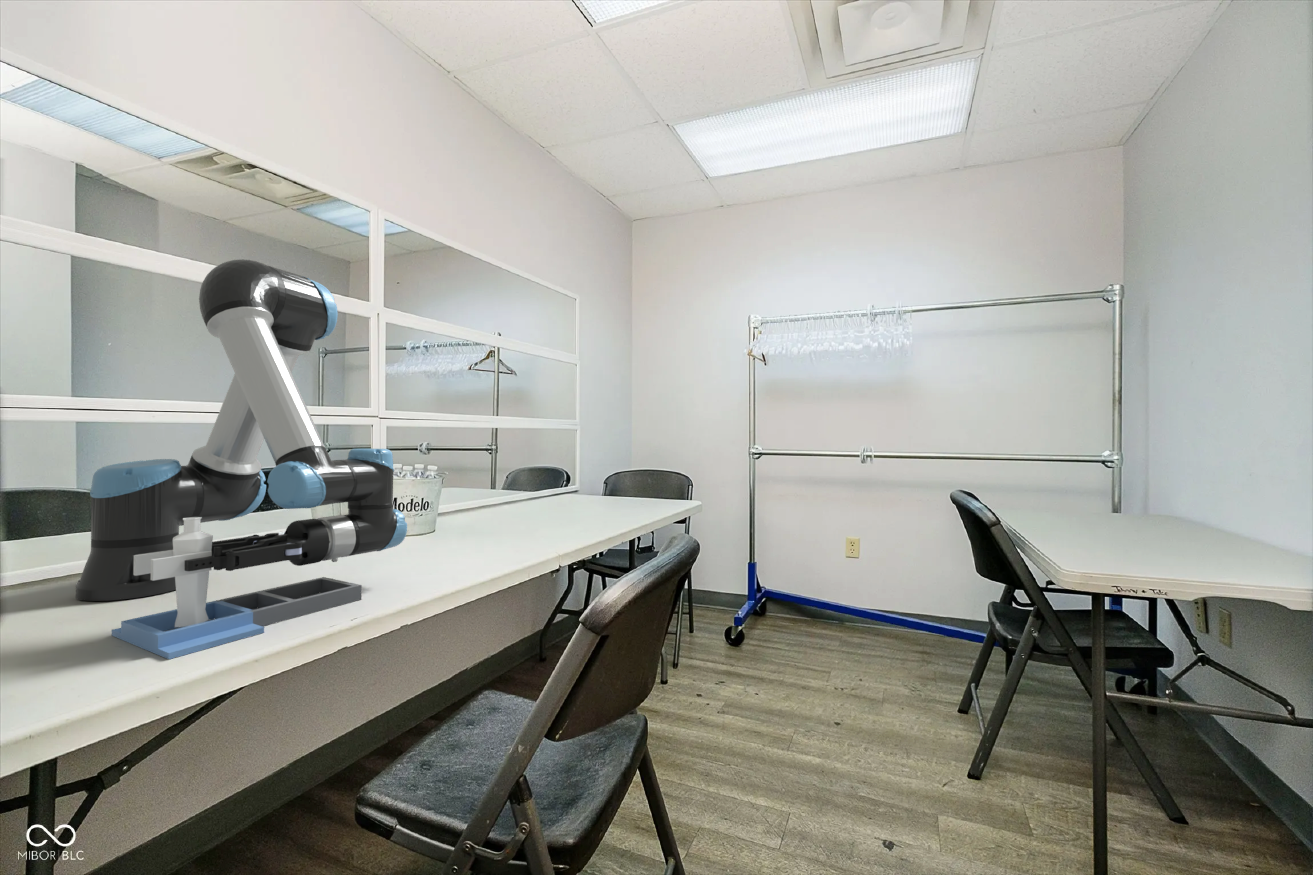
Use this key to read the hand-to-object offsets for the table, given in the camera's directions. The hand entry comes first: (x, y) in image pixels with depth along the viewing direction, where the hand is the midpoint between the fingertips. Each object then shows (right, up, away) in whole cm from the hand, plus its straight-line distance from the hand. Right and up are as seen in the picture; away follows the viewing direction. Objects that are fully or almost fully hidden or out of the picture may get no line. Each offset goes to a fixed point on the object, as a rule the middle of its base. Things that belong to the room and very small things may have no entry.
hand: (143, 567), depth 74 cm
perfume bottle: (+2, -9, +5) cm, 11 cm away
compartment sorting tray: (+6, -11, +12) cm, 17 cm away
